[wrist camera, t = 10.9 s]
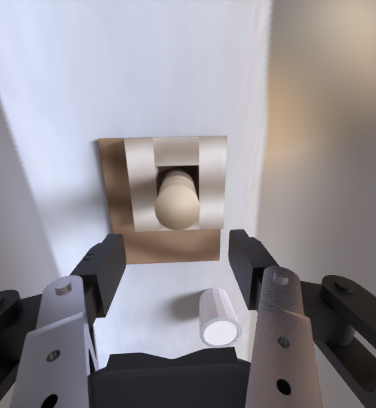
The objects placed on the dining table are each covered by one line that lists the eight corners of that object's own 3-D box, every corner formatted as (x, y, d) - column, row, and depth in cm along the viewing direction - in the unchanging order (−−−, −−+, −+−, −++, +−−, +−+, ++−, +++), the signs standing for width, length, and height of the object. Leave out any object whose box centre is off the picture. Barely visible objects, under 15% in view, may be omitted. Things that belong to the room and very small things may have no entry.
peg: (162, 166, 28) (151, 187, 16) (192, 165, 28) (201, 185, 17) (164, 194, 29) (155, 232, 18) (192, 194, 29) (201, 230, 18)
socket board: (101, 138, 28) (84, 139, 22) (221, 135, 28) (231, 135, 23) (120, 259, 34) (110, 281, 29) (217, 255, 35) (224, 276, 30)
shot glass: (238, 295, 38) (250, 329, 31) (216, 318, 40) (223, 354, 33) (210, 279, 36) (217, 311, 30) (188, 303, 38) (191, 338, 31)
